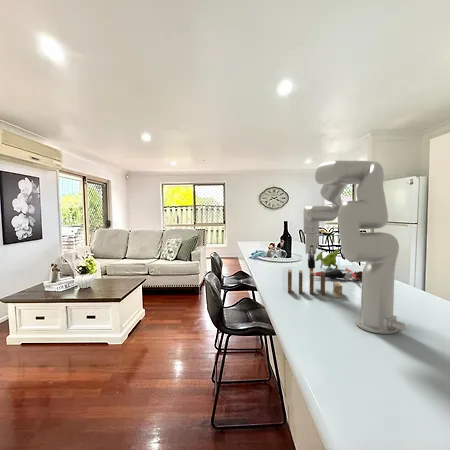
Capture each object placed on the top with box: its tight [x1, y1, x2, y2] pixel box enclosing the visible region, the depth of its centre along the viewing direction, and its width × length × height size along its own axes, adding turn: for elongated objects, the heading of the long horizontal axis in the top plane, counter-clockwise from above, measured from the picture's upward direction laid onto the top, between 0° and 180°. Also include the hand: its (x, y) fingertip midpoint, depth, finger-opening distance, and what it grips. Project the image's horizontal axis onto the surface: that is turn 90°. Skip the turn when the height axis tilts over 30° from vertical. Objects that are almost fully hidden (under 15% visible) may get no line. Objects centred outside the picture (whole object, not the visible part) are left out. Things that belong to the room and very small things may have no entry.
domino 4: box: [309, 270, 315, 296], centre depth 137 cm, size 2×5×10 cm, turn 166°
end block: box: [332, 281, 343, 298], centre depth 134 cm, size 3×8×5 cm, turn 166°
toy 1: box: [315, 248, 341, 271], centre depth 193 cm, size 8×21×15 cm, turn 115°
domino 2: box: [298, 270, 304, 295], centre depth 138 cm, size 2×5×10 cm, turn 166°
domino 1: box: [287, 269, 293, 294], centre depth 140 cm, size 2×5×10 cm, turn 166°
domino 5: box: [320, 271, 326, 296], centre depth 136 cm, size 2×5×10 cm, turn 166°
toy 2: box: [309, 267, 363, 282], centre depth 164 cm, size 28×6×30 cm
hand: (311, 266), depth 148 cm, fingers closed on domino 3, 4 cm apart
